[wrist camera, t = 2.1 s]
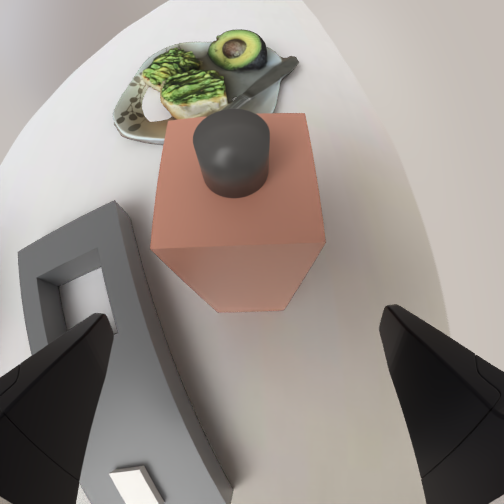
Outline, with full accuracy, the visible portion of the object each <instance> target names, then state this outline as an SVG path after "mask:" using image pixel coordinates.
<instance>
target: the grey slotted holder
mask: <svg viewBox="0 0 504 504" xmlns="http://www.w3.org/2000/svg"><path fill="white" fill-rule="evenodd" d="M18 265H19V278H20V288H21V297H22V305H23V312H24V318H25V324H26V330H27V335H28V340H29V345H30V350H31V354H32V355H33V354H35V353H36V352H38V351H39V350H41V349H42V348H43V347H45V346H46V345H48V344H49V343H51V342H52V341H54V340H55V339H57V338H58V337H60V336H61V335H62V334H64V333H65V332H67V329H66V324H65V320H64V315H63V310H62V305H61V299H60V294H59V288H58V287H59V286H61V285H63V284H65V283H67V282H69V281H71V280H74V279H76V278H78V277H80V276H82V275H84V274H87V273H89V272H91V271H93V270H96V269H98V268H100V267H102V272H103V277H104V281H105V285H106V290H107V294H108V298H109V302H110V306H111V309H112V313H113V317H114V320H115V324H116V327H117V331H118V333H117V334H114V340H113V344H112V349H111V354H110V358H109V363H108V368H107V373H106V377H105V381H104V384H103V388H102V391H101V394H100V398H99V401H98V405H97V409H96V412H95V416H94V420H93V424H92V427H91V431H90V435H89V440H88V444H87V448H86V452H85V457H84V462H83V466H82V471H81V476H80V481H79V483H80V485H81V487H82V489H83V491H84V492H85V494H86V496H87V498H88V499H89V501H90V503H91V504H231V500H232V495H233V488H232V487H231V485H230V483H229V481H228V479H227V478H226V476H225V474H224V472H223V470H222V468H221V466H220V464H219V462H218V460H217V458H216V456H215V454H214V452H213V450H212V448H211V446H210V444H209V442H208V440H207V438H206V436H205V434H204V432H203V430H202V428H201V425H200V423H199V421H198V419H197V417H196V414H195V412H194V410H193V408H192V405H191V403H190V401H189V398H188V396H187V393H186V391H185V389H184V386H183V384H182V381H181V379H180V376H179V374H178V371H177V369H176V366H175V363H174V361H173V358H172V355H171V353H170V350H169V347H168V345H167V342H166V339H165V336H164V333H163V330H162V327H161V325H160V322H159V319H158V316H157V312H156V309H155V306H154V303H153V300H152V297H151V293H150V290H149V287H148V283H147V280H146V277H145V273H144V270H143V266H142V262H141V259H140V255H139V251H138V247H137V244H136V240H135V236H134V232H133V227H132V223H131V219H130V217H129V216H128V215H127V214H126V212H125V211H124V210H123V209H122V208H121V207H120V206H119V204H118V203H117V202H116V201H115V200H114V201H112V202H110V203H108V204H106V205H104V206H102V207H99V208H97V209H95V210H93V211H91V212H89V213H87V214H85V215H83V216H81V217H79V218H78V219H76V220H74V221H72V222H70V223H68V224H66V225H64V226H62V227H60V228H59V229H57V230H55V231H53V232H51V233H50V234H48V235H46V236H44V237H42V238H41V239H39V240H37V241H35V242H34V243H32V244H30V245H29V246H27V247H25V248H24V249H22V250H20V251H19V252H18Z"/></svg>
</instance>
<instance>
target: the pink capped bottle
mask: <svg viewBox="0 0 504 504" xmlns="http://www.w3.org/2000/svg"><path fill="white" fill-rule="evenodd" d="M325 243H326V241H325V233H324V225H323V217H322V210H321V203H320V196H319V189H318V183H317V177H316V171H315V165H314V159H313V153H312V148H311V142H310V137H309V132H308V126H307V121H306V116H305V113H261V114H255V113H253V112H251V111H247V110H243V109H226V110H221V111H218V112H215V113H213V114H211V115H209V116H207V117H196V118H187V119H178V120H170V121H168V124H167V129H166V134H165V140H164V145H163V151H162V157H161V163H160V170H159V176H158V183H157V190H156V198H155V206H154V215H153V224H152V234H151V245H150V249H151V250H152V251H153V252H154V253H155V254H156V255H157V256H158V257H159V258H160V259H161V260H162V261H163V262H164V263H165V264H166V265H167V266H168V267H169V268H170V269H171V270H172V271H173V272H174V273H175V274H176V275H178V276H179V277H180V278H181V279H182V280H183V281H184V282H185V283H186V284H187V285H188V286H189V287H190V288H191V289H192V290H194V291H195V292H196V293H197V294H198V295H199V296H200V297H201V298H202V299H203V300H205V301H206V302H207V303H208V304H209V305H210V306H211V307H212V308H213V309H215V310H216V311H217V312H218V313H222V312H259V311H283V310H284V309H285V308H286V306H287V305H288V303H289V301H290V300H291V298H292V297H293V295H294V294H295V292H296V290H297V289H298V287H299V286H300V284H301V282H302V281H303V279H304V278H305V276H306V274H307V273H308V271H309V269H310V268H311V266H312V265H313V263H314V261H315V260H316V258H317V256H318V255H319V253H320V251H321V250H322V248H323V246H324V245H325Z"/></svg>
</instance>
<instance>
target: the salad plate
mask: <svg viewBox="0 0 504 504" xmlns="http://www.w3.org/2000/svg"><path fill="white" fill-rule="evenodd" d="M216 38H217V40H216V41H214V42H186V43H179V44H175V45H172V46H169V47H167V48H164V49H162V50H160V51H159V52H157V53H155V54H153V55H152V56H151V57H149V58H148V59H147V60H146V61H145V62H144V63H143V64H142V66H141V67H140V69H139V70H138V72H137V73H136V75H135V76H134V78H133V79H132V81H131V83H130V84H129V85H128V87H127V89H126V90H125V92H124V93H123V94H122V96H121V98H120V100H119V101H118V103H117V105H116V107H115V109H114V112H113V119H114V125H115V126H116V128H117V130H118V131H119V133H120V135H121V136H122V137H124V138H128V139H131V140H136V141H140V142H144V143H150V144H164V140H165V134H166V129H167V124H168V121H170V120H178V119H187V118H196V117H207V116H209V115H211V114H213V113H215V112H218V111H221V110H226V109H243V110H247V111H251V112H253V113H255V114H261V113H273V112H274V109H275V106H276V103H277V97H278V92H279V87H280V82H281V80H282V79H283V78H284V77H285V76H286V75H288V74H289V73H290V72H291V71H292V70H293V69H294V68H295V67H296V66H297V64H298V63H299V61H298V60H297V58H296V57H292V56H290V57H288V58H282V57H280V56H279V55H278V54H277V53H276V52H275V51H273V50H272V49H270V48H268V47H266V45H265V42H264V41H263V40H262V38H261V37H260V36H259V35H258V34H256V33H254V32H251V31H248V30H230V31H226V32H224V33H223V34H222V35H219V36H217V37H216ZM149 87H152V88H153V89H155V90H157V91H159V92H160V98H161V103H162V104H163V105H164V107H165V108H166V109H167V110H168V111H169V112H170V114H171V115H172V117H171V118H170V119H167V120H162V121H157V122H149V121H148V120H147V119H146V117H145V116H144V114H143V110H142V100H143V97H144V95H145V93H146V91H147V89H148V88H149ZM234 97H237V98H236V99H235V100H234V101H233V100H232V99H233V98H234Z"/></svg>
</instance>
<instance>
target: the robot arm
mask: <svg viewBox="0 0 504 504" xmlns="http://www.w3.org/2000/svg"><path fill="white" fill-rule="evenodd" d="M379 331H380V336H381V339H382V343H383V348H384V352H385V356H386V360H387V365H388V368H389V372H390V375H391V378H392V381H393V384H394V387H395V390H396V393H397V396H398V399H399V402H400V405H401V408H402V411H403V414H404V418H405V421H406V424H407V428H408V431H409V434H410V438H411V441H412V445H413V449H414V452H415V456H416V460H417V464H418V468H419V472H420V476H421V478H422V479H421V481H422V485H423V489H424V494H425V499H426V503H427V504H504V372H503V371H501V370H499V369H498V368H496V367H495V366H493V365H491V364H490V363H488V362H487V361H485V360H483V359H482V358H481V357H479V356H477V355H475V353H473V352H471V351H470V350H468V349H467V348H465V347H464V346H462V345H461V344H459V343H458V342H456V341H455V340H453V339H452V338H450V337H448V336H447V335H445V334H444V333H442V332H441V331H439V330H437V329H436V328H434V327H433V326H431V325H430V324H428V323H426V322H425V321H423V320H422V319H420V318H418V317H417V316H415V315H414V314H412V313H410V312H409V311H407V310H406V309H404V308H402V307H401V306H399V305H397V304H394V305H387V306H385V308H384V311H383V314H382V318H381V322H380V326H379ZM113 340H114V334H113V331H112V328H111V326H110V323H109V320H108V318H107V316H106V315H105V314H101V313H94V314H92V315H91V316H89V317H88V318H86V319H85V320H83V321H82V322H80V323H79V324H77V325H76V326H74V327H73V328H71V329H70V330H68V331H67V332H65V333H64V334H62V335H61V336H60V337H58V338H57V339H55V340H54V341H52V342H51V343H49V344H48V345H46V346H45V347H43V348H42V349H41V350H39V351H38V352H36V353H35V354H33V355H32V356H31V357H29V358H28V359H26V360H25V361H23V362H22V363H21V365H18V366H16V367H15V368H14V369H12V370H11V371H9V372H8V373H6V374H5V375H3V376H2V377H0V504H76V500H77V494H78V488H79V481H80V476H81V471H82V466H83V462H84V457H85V452H86V448H87V444H88V440H89V435H90V431H91V427H92V424H93V420H94V416H95V412H96V409H97V405H98V401H99V398H100V394H101V391H102V388H103V384H104V381H105V377H106V373H107V368H108V363H109V358H110V354H111V349H112V344H113Z"/></svg>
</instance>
